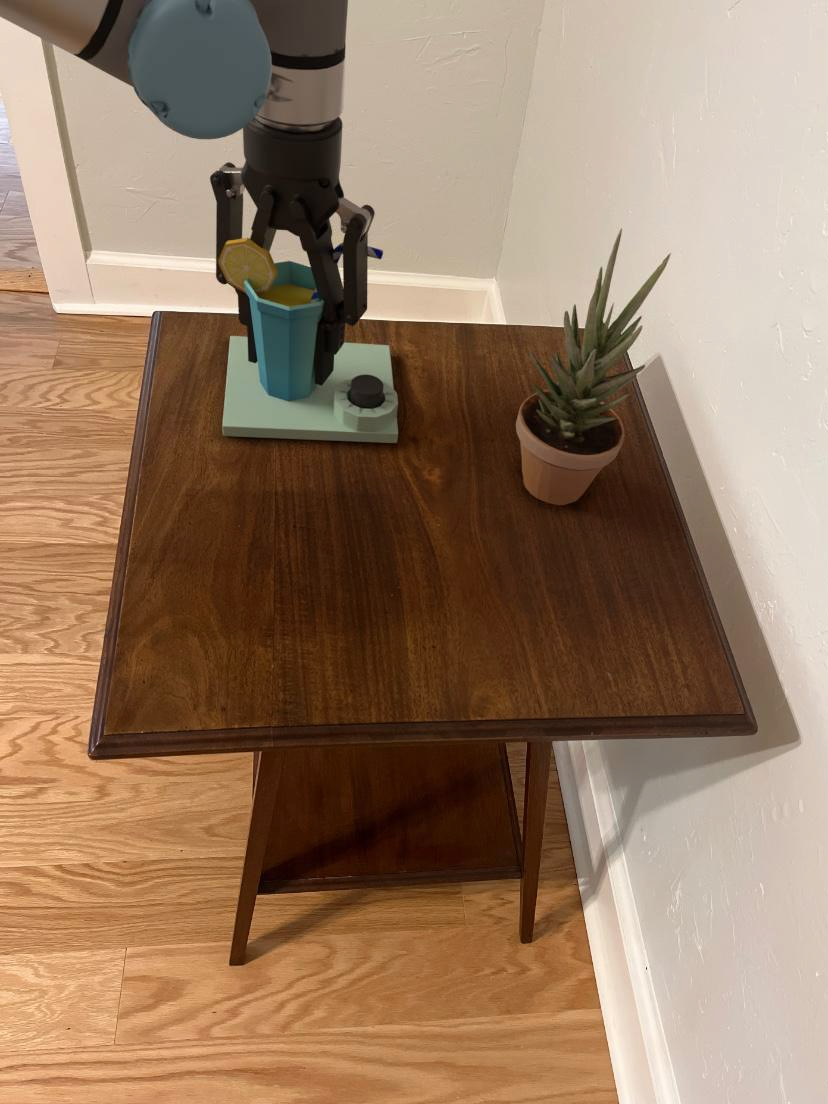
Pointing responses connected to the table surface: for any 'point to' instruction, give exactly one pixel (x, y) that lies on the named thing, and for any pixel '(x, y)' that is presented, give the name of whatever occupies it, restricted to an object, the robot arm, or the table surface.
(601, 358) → the potted plant
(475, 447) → the table surface
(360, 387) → the tare button
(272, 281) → the cup
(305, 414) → the scale
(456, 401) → the table surface
